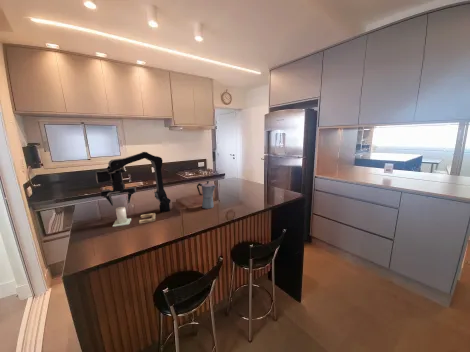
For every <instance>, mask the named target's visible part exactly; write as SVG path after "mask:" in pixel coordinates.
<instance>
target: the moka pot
mask: <svg viewBox="0 0 470 352" xmlns="http://www.w3.org/2000/svg"><path fill="white" fill-rule="evenodd" d="M199 186H200V187H201V191H202V193H201V191H200V187H199ZM196 188H197V191H198V194H199V196H203V197H202V205H201V207H202V209H206V210H207V209H209V210H210V209H213V208H214V206H215V205H214V198H213V196H214V191H215V189H216V188H217V185H215V184H214V183H210V181H209V180H208V181H206V183H200V182H199V183H198V184H197V185H196Z"/></svg>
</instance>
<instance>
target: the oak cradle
mask: <svg viewBox="0 0 470 352" xmlns="http://www.w3.org/2000/svg"><path fill="white" fill-rule="evenodd" d="M150 217H151V218H150ZM140 218H141V219H139V222H138V224H144V223H145V224H147V223H152V222H155V221H156V212H153V213H146V214H141V215H140ZM143 218H145V219H143ZM146 218H147V219H146Z"/></svg>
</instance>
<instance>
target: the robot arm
mask: <svg viewBox="0 0 470 352" xmlns="http://www.w3.org/2000/svg"><path fill="white" fill-rule="evenodd" d="M143 159H146V160H147V161H150V163H151V166H152V167H153V170H154V176H155V177H154V178H155V185H156V190H155V191H154V198H155V199H156V200H158V202H159V211H160V213H166V212H171V208H170V204H171V199H170V198H169V197H168V196H167V192H166V191H165V189H164V181H163V174H162V173H163V172H162V167H163V158H162V157H161V156H157V155H153V154H151V153H149V152H147V151H141V152H140V153H136V154H133V155H130V156H127V157H123V158H115V159H111V160H109V161H108V165H107V167H106V169H105V170H101V171H95V180H96V184H103V183H108V182H110V180H111V187H112V190H111V189H110V188H109V189H102V190H101V191H100V197H103V198H105V199H106V200H107V201H108V202H109V204H110V205H111V206H112V207H113V206H114V202H113V198H112V194H119V193H121V194H122V193H127V201H128V202H127V203H128V204H130V203H131V198H132V195H134V193H135V194H136V192H137V187H136V186H129V187H128V188H126V184H125V183H124V180H123V173H126V171H125V170H123V168H124V167H125V166H127V165H128V164H131V163H135V162H138V161H141V160H143Z"/></svg>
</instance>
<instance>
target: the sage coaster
mask: <svg viewBox="0 0 470 352" xmlns="http://www.w3.org/2000/svg"><path fill="white" fill-rule="evenodd" d="M131 222H132V218H128V217H127V222H125V223H122V224H119V223H118V221H117V219H115V221H114V222H113V225H112V227H113V228H115V227H123V226H128V225H130V223H131Z"/></svg>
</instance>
